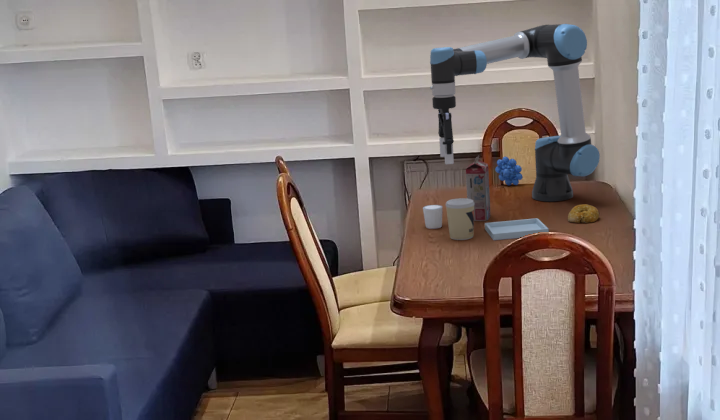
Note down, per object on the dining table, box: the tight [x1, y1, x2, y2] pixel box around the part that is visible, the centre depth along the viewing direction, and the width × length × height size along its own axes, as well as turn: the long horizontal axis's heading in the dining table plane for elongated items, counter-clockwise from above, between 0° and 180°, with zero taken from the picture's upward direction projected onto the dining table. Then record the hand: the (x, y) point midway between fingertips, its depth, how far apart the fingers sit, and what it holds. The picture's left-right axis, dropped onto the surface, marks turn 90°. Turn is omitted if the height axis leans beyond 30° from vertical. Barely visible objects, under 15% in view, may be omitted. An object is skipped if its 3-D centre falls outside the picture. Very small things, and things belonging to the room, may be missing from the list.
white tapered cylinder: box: [422, 204, 443, 230], centre depth 293 cm, size 7×7×7 cm
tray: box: [484, 218, 550, 241], centre depth 279 cm, size 18×14×2 cm
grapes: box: [494, 156, 524, 186], centre depth 344 cm, size 12×7×12 cm, turn 57°
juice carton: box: [465, 155, 491, 222], centre depth 297 cm, size 7×7×22 cm
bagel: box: [567, 203, 600, 224], centre depth 286 cm, size 10×11×5 cm
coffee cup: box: [445, 197, 475, 241], centre depth 277 cm, size 9×9×12 cm
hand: (446, 160), depth 280 cm, fingers open, 13 cm apart
